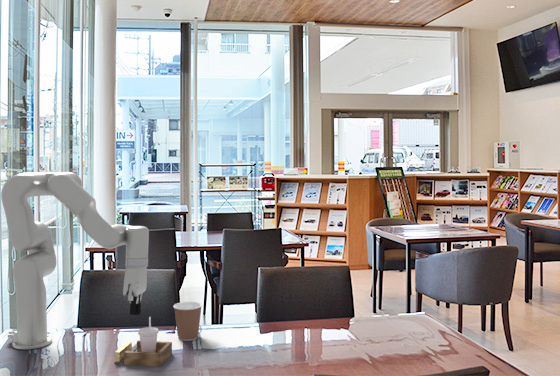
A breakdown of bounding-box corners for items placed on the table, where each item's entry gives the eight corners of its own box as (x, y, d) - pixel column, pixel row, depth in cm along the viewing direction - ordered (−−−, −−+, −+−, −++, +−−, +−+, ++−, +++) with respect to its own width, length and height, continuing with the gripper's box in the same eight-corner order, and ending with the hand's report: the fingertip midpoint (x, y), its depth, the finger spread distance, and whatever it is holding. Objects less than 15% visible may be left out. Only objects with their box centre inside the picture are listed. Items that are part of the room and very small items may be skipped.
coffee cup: (207, 335, 199) (207, 302, 199) (193, 343, 189) (193, 310, 189) (182, 332, 202) (182, 300, 202) (168, 340, 193) (167, 307, 192)
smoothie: (153, 363, 171) (153, 320, 170) (134, 362, 172) (134, 319, 171) (161, 356, 177) (161, 314, 176) (143, 355, 178) (143, 313, 177)
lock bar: (114, 361, 171) (114, 352, 171) (127, 350, 180) (127, 342, 180) (119, 361, 171) (119, 352, 171) (131, 351, 180) (131, 342, 180)
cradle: (113, 364, 170) (112, 351, 170) (138, 342, 190) (138, 331, 190) (159, 366, 168) (159, 354, 168) (180, 344, 188) (180, 333, 188)
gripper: (135, 257, 194) (133, 307, 195) (117, 265, 179) (115, 319, 180) (155, 258, 193) (153, 309, 194) (138, 266, 178) (137, 321, 179)
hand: (135, 314), depth 187 cm, fingers closed
